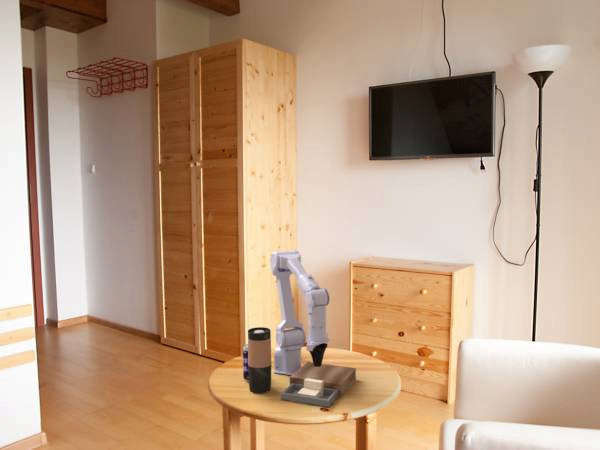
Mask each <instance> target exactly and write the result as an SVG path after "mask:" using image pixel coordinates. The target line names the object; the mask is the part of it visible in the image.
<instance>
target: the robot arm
mask: <svg viewBox="0 0 600 450" xmlns="http://www.w3.org/2000/svg"><path fill="white" fill-rule="evenodd" d="M269 259H270V260H269V261H270V263H269V264H270V268H271V269H270V270H271V274H272V276H274V277H275V281H276V289H277V293H278V302H279V309H280V314H281V322H280V323H279V324H278V325H277V327H276V329H275V331H276V332H275V333H276V334H275V341H276V344H277V346H276V347H275V349H274V353H273V358H274V359H273V361H274V362H273V363H274V365H273V367H274V369H273V373H274V374H280V375H287V376H292V375H293V374H294V373H295V372H296V371H298V370H299V369H300V368H301V367H302V348H304V345H305V344H306V342H307V344H306V348H305V349H306V351H308V352H309V354H310V356H311V359H312V363H313V364H314V366H316V367H320V366H321V365H322V364H323V361H324V360H323V359H324V355H325V352H326V349H327V347H328V343H329V342H330V338H329V337H328V336H329V335H328V334H329V333H327V306H328V305H329V304H330V294H329V291H328V290H327V288H326V287H322V286H320V285H319V284H318V282H317V281H316V280H315V278H314V276H312V274H311V273H310V274H308V273H307V272H306V270H305V267H304V266H303V265H302V260H301V259H302V257H301V254H300V252H299V251H298V250H297V249H293V250H282V251H281V250H280V251H275V250H274V251H272V253H271V256H270V258H269ZM292 274H293V275H294V277H295V278H296V279H297V286H298V288H299V289H300V290H301V292H302V293H303V295H304V296H305V297H304V301H305V304H306V311H307V313H308V338H307V335H306V331H305V328H304V324H303V323H302V322H300V321H299V320H297V318H296V317H297V316H296V311H295V306H294V305H295V303H294V298H293V297H294V296H293V292H292V287H291V285H292V284H291V279H290V278H291V275H292Z"/></svg>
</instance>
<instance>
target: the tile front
mask: <svg viewBox="0 0 600 450" xmlns="http://www.w3.org/2000/svg"><path fill="white" fill-rule="evenodd" d="M297 395H302V396H309V397H315V398H319V397H320V390H314V389H307V388H302V389H301V390H300V391H299V392H298V393H297Z"/></svg>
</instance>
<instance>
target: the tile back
mask: <svg viewBox="0 0 600 450" xmlns="http://www.w3.org/2000/svg"><path fill="white" fill-rule="evenodd" d="M304 388H307V389H314V390H320V397H322V396H323V395H324V381H322V380H315V379H309V378H306V379H305V380H304Z"/></svg>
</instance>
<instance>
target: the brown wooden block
mask: <svg viewBox="0 0 600 450" xmlns="http://www.w3.org/2000/svg"><path fill="white" fill-rule="evenodd" d="M356 372H357V369H356V367H349V366H342V365H334V364H327V363H322V365H321V366H320V367H316V366H314V364H313V361H307V362H306V363H304V364H303V365H301V368H300V369H299V370H298V371H296V372H295V373H294V374H293V375H289V386H290V385H291V384H292V383H295V384H301V385H304V380H305V379H306V378H309V379H315V380H322V381H324V388H328V389H335V390H338V397H341V398H342V397H343V396H344V394H345V393H346V392H347V391H348V390H349V389H350V387H351V386H352V385H353V384H354V382H355V381H356V380H357V378H356V377H357V373H356Z"/></svg>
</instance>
